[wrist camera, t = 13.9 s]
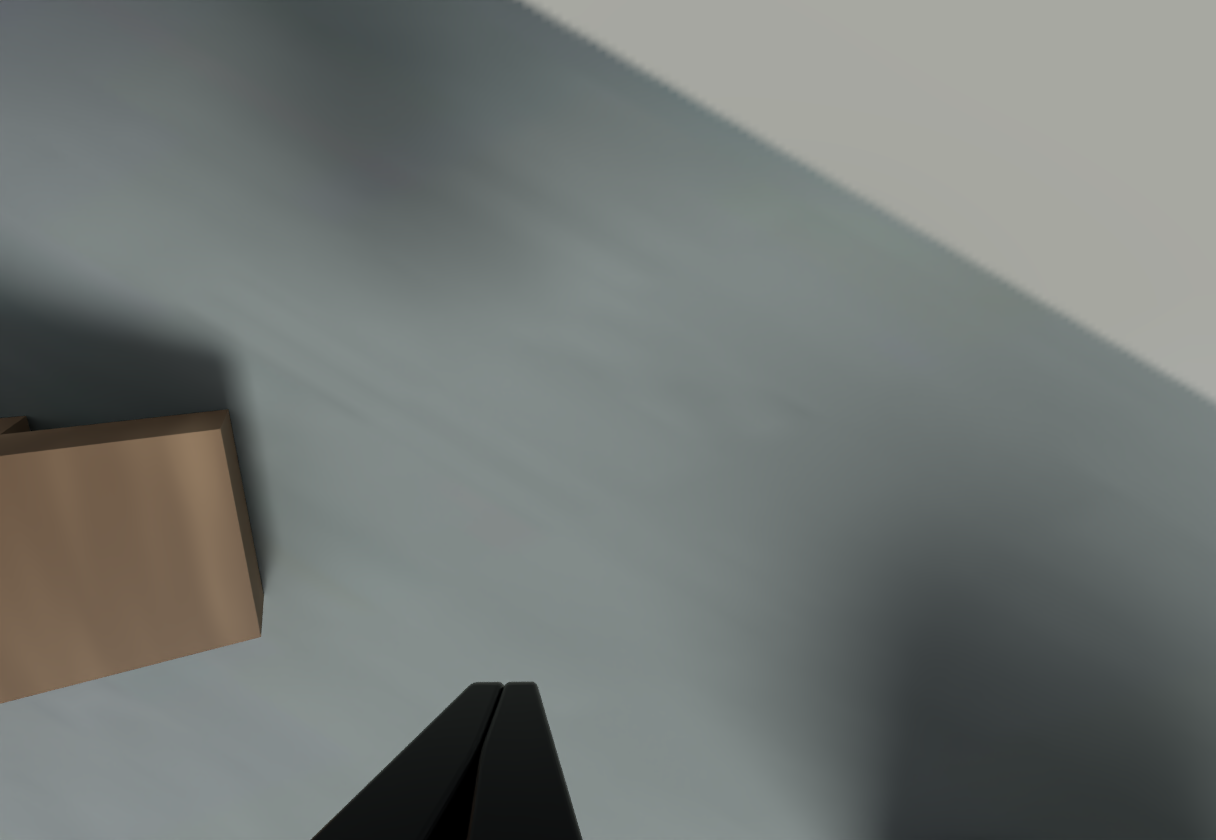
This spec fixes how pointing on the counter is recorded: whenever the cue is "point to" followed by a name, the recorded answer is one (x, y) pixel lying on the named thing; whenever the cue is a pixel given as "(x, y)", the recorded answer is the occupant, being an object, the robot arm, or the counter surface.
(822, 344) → the counter surface
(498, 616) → the counter surface
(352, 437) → the counter surface
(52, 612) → the domino
